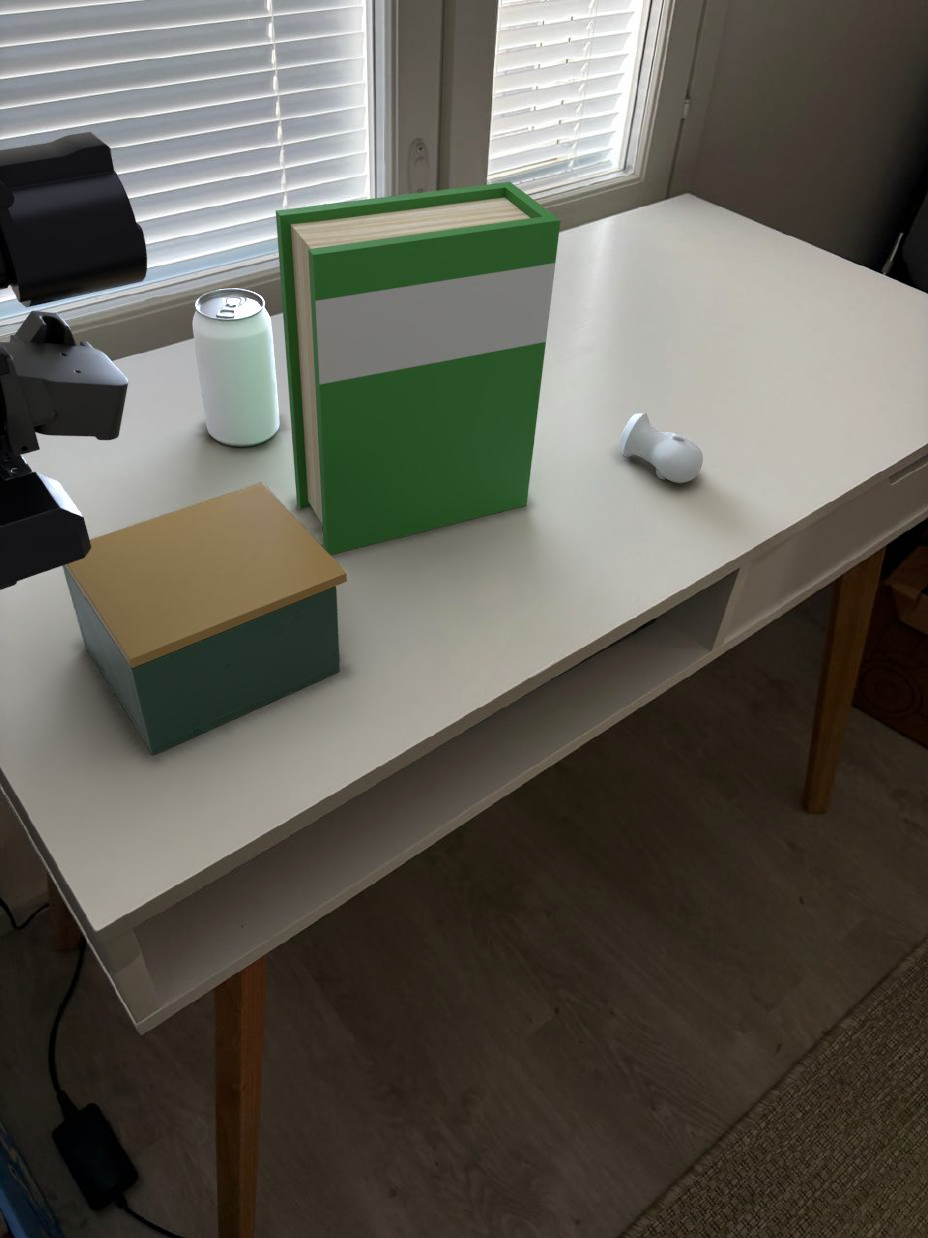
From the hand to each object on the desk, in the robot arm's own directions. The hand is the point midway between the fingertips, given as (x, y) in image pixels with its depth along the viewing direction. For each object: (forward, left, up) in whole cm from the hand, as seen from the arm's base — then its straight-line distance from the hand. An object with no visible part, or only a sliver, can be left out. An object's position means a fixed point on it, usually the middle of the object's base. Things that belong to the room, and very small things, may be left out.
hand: (5, 584), depth 57 cm
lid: (+11, +3, -4) cm, 12 cm away
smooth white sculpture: (+53, +15, -12) cm, 56 cm away
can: (+19, +31, -12) cm, 38 cm away
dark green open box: (+11, +3, -12) cm, 16 cm away
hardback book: (+30, +16, -12) cm, 36 cm away
